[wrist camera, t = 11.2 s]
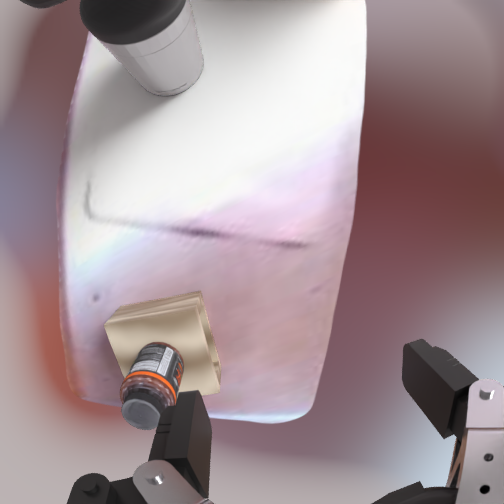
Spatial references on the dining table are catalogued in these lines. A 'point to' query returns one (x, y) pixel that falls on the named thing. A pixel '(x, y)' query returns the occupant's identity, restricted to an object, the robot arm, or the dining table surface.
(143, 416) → the supplement bottle
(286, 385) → the dining table surface
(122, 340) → the birch block
